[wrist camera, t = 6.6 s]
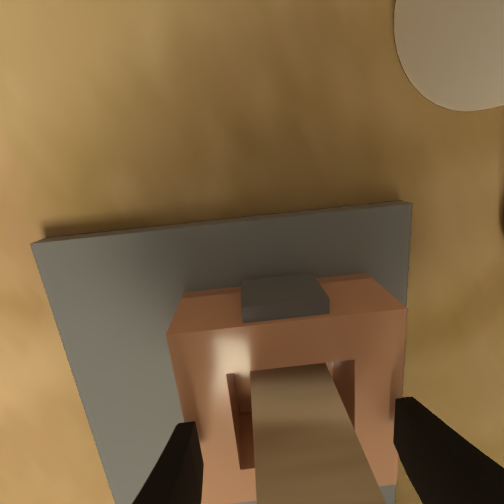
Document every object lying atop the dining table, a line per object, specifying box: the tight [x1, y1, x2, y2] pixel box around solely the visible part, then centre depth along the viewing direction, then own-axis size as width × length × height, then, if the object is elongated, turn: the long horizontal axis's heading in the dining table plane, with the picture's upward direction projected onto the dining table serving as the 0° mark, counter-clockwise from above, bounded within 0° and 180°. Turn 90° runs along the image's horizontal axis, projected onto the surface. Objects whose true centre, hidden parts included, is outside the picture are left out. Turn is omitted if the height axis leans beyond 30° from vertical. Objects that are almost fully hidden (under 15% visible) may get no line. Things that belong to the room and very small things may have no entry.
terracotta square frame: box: [166, 273, 408, 504], centre depth 13 cm, size 9×8×3 cm
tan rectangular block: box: [250, 363, 386, 504], centre depth 10 cm, size 3×3×9 cm
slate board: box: [30, 201, 412, 504], centre depth 16 cm, size 22×16×1 cm
